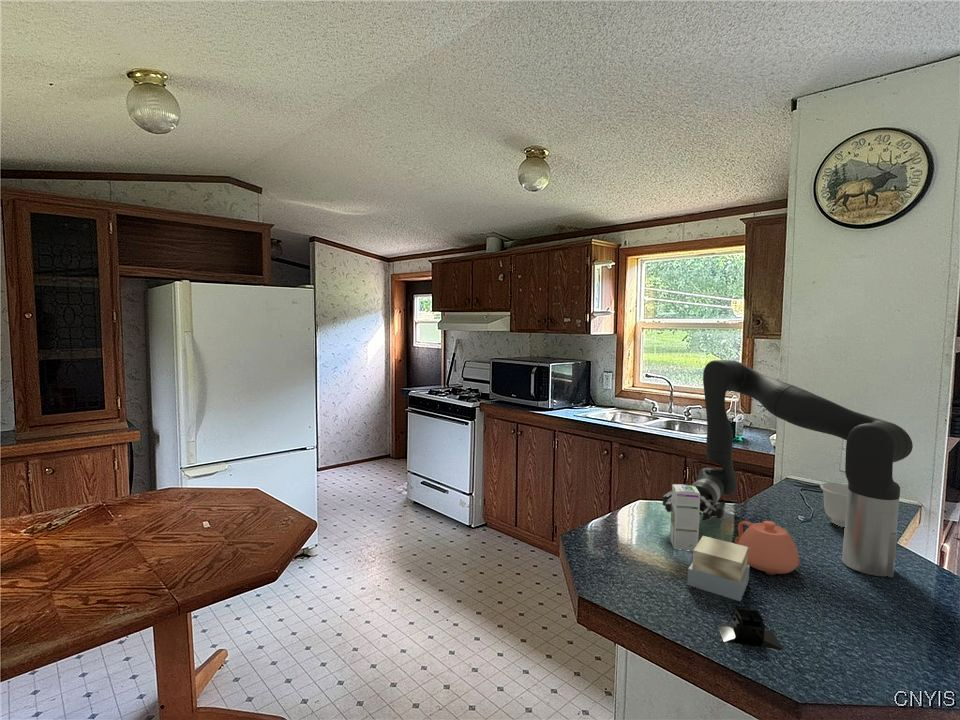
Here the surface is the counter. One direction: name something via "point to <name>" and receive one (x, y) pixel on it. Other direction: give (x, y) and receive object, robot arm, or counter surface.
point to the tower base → (718, 583)
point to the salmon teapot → (768, 547)
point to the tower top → (720, 558)
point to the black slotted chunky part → (749, 631)
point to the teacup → (835, 501)
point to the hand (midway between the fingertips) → (685, 512)
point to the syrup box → (684, 517)
